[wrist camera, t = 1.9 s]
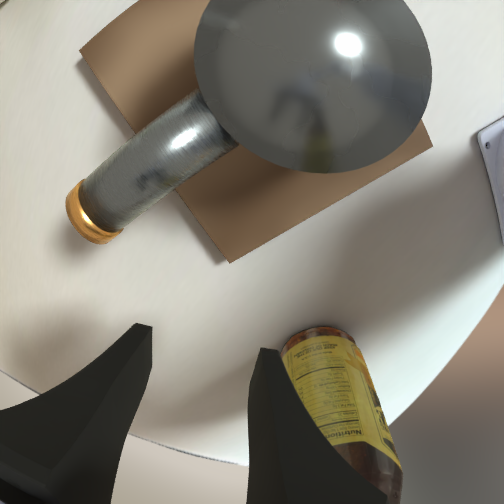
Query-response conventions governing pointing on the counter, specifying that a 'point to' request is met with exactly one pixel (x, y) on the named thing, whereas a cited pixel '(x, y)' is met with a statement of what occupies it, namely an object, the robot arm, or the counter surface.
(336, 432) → the sauce bottle
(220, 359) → the counter surface
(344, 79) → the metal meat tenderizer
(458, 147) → the counter surface
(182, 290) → the counter surface
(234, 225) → the thin wooden panel
